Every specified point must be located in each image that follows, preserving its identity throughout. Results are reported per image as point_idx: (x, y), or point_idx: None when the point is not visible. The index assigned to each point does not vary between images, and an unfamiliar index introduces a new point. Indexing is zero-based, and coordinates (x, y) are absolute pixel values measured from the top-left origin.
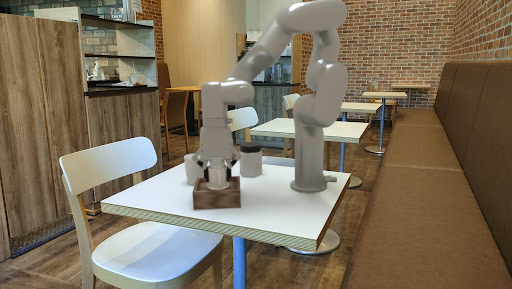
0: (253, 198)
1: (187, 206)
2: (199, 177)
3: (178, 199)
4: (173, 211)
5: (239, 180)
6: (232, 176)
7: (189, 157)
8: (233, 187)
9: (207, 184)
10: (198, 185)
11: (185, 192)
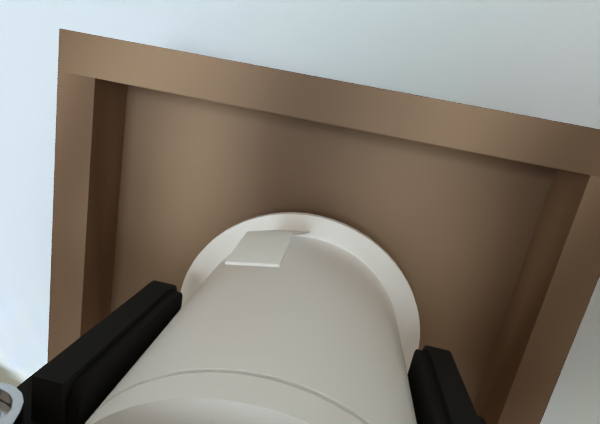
0: (591, 322)
1: None
2: (88, 40)
3: (24, 160)
4: (20, 354)
5: (571, 327)
6: (537, 134)
7: None
8: (452, 351)
9: (185, 280)
10: (98, 262)
11: (60, 8)
